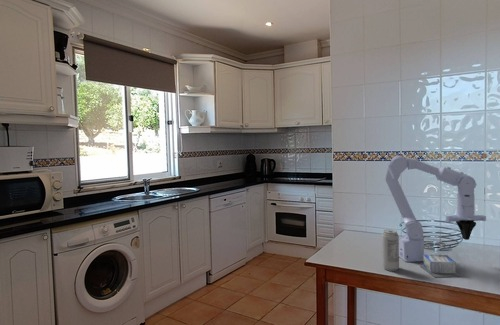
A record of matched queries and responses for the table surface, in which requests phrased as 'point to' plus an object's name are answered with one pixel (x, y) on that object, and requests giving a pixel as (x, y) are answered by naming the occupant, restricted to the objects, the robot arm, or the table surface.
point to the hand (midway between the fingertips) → (465, 238)
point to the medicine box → (439, 264)
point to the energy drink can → (390, 250)
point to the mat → (438, 275)
